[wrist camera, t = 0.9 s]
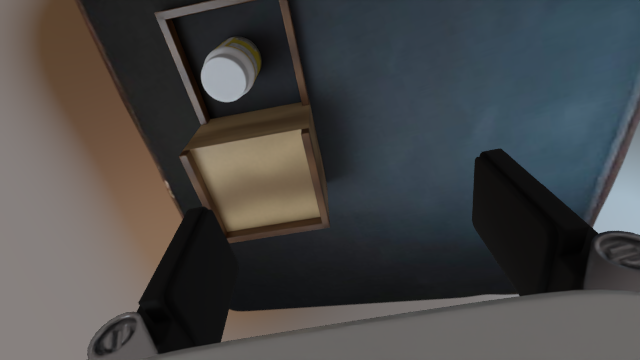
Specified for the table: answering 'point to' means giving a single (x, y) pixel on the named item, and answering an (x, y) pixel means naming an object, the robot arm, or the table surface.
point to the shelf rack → (253, 152)
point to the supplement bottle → (231, 69)
